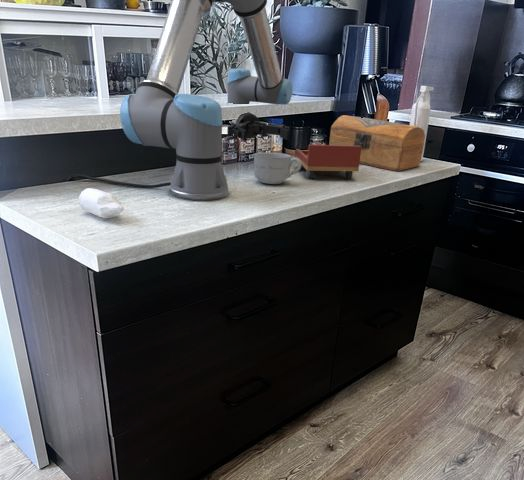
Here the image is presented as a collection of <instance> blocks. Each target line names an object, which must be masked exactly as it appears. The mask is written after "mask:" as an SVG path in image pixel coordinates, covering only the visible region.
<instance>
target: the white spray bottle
mask: <svg viewBox="0 0 524 480" xmlns="http://www.w3.org/2000/svg"><path fill="white" fill-rule="evenodd" d="M434 90H435V87H434V86H428V85H420V88H419V92H420V94H419V96H418V97H417V99H416V101H415V103H413V104H412V106H411V111H410V118H409V125H411V126H416V127H420V128H421V129H423V130H424V133H425V140H424V146H423V151H422V156H421V161H420V162H423V160H424V153H425V148H426V141H427V134H428V130H429V129H428V128H429V122H430V117H431V109H432V108H431V105H430V104H431V94H430V92H433V91H434Z"/></svg>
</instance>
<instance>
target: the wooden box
mask: <svg viewBox="0 0 524 480" xmlns="http://www.w3.org/2000/svg"><path fill="white" fill-rule="evenodd" d="M361 117H362V116H352V115H347V114H343V115H340V116H339V117H338V118H336V119H335V121H334V122H333V124H332V125H331V126H330V130H329V131H330V133H329V142H328V145H344V146H362V148H361V155H360V162H359V165H360V164H361V165H366V166H370V167H373V168H375V167H376V168H380V169H384V170H389V171H393V172H394V171H395V172H401V171H406V170H409V169H413V168H417V167H420V166H421V165H420V164H421V162H422V161H421V156H422V151H423V146H424V140H425V133H424V130H423V129H421V128H420V127H416V126H411V125H410V124H404V123H399V122H393V121H388V120H383V119H382V120H381V119H375V118H370V117H363V118H361Z"/></svg>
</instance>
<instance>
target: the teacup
mask: <svg viewBox="0 0 524 480" xmlns="http://www.w3.org/2000/svg"><path fill="white" fill-rule="evenodd" d="M293 162H296V163H297V167H296V168H295V169H294V170H292V171H290V170H291V167H292V164H293ZM300 168H301V161H300V160H299V159H298V158H295V157H292V156H291V155H290V154H287V153H281V152H255V153H253V174H254V176H255V178H256V179H257V180H258V181H259V182H260V183H263V184H269V185H279V184H283V183H284V182H285V181H286V180H287V179H290V178H291V177H292V176H293V175H296V174H297V173H298V172H299V171H301V170H300Z"/></svg>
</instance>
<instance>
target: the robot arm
mask: <svg viewBox="0 0 524 480" xmlns="http://www.w3.org/2000/svg"><path fill="white" fill-rule="evenodd" d="M214 3H226V4H227V3H228V4H229V5H231V6H232V7H231V8H232V10H233V12H234V14H235V15H236V16H237V17H239V20H240V24H241V26H242V30H243V33H244V36H245V41H246V43H247V47H248V51H249V53H250V56H251V60H252V62H253V67H254V69H255V73H256V76H255V75H252V74H251V70H250V69H248V68H247V69H246V68H230V69H229V70H228V73H227V83H226V85H227V104H228V103H233V104H249V103H250V102H251V103H253V102H254V103H261V104H270V105H277V106H278V105H288V104H289V103H290V102H291V100H292V97H293V83H292V81H291V80H290V79H289V78H288V79H287V78H284V77H283V76H282V72H281V67H280V63H279V58H278V55H277V51H276V50H277V49H276V46H275V43H274V38H273V34H272V33H273V32H272V30H271V25H270V21H269V18H268V17H269V16H268V13H267V9H266V6H267V4H268V0H170V4H169V7H168V10H167V14H166V17H165V20H164V23H163V27H162V29H161V33H160V36H159V39H158V42H157V46H156V48H155V51H154V55H153V58H152V61H151V65H150V67H149V71H148V74H147V76H146V79H145V80H144V79H143V80H142V81H140V82H138V84H137V87H136V89H135V90H136V91H135V93H134V94H130V93H129V94H127V95H126V96H124V97H123V99H122V101H121V104H120V108H119V119H120V123H121V127H122V130H123V133H124V134H125V136H126V137H127V139H128V140H129V141H130V142H131V143H134V144H137V145H142V146H144V147H156V148H157V147H158V148H164V149H172V150H173V149H174V150H175V156H176V157H175V158H176V159H175V160H176V161H175V162H176V163H175V167H174V171H173V174H172V177H171V181H169V182H162V183H157V184H139V183H131V182H125V181H117V180H113V179H107V178H102V177H93V176H89V175H85V174H84V175H83V174H79V175H78V176H77V177H70V176H69V177H68V178H67V179H66V181H67V182H70V181H72V180H73V179H76V178H79V179H86V180H90V181H95V182H103V183H107V184H113V185H118V186H125V187H132V188H140V189H141V188H143V189H155V188H156V189H157V188H161V187H168V186H170V187H169V189H170V194H171V195H172V196H174V197H176V198H179V199H184V200H188V201H189V200H190V201H214V200H219V199H223V198H225V197H227V196H228V195H229V186H228V179H227V176H226V174H225V172H224V171H225V170H224V167H223V164H222V150H223V149H222V146H223V124H224V123H223V122H224V121H223V113H222V106H221V104H220V103H219V102H218V101H216V100H215V99H212V98H210V97H207V96H203V95H199V94H198V95H197V94H190V93H179V92H180V89H181V86H182V84H183V79H184V78H185V77H184V76H185V73H186V70H187V67H188V64H189V60H190V58H191V54H192V51H193V48H194V45H195V41H196V38H197V36H198V35H197V34H198V33H199V28H200V25H201V23H202V19H203V18H206V17H208V16H209V14H210V12H211V10H212V7H213V4H214ZM251 103H250V104H251ZM229 123H230V124H231V125H230V126H227V134H226V135H227V137H232V136H233V140H238V138H239V139H241V141H244V142H247V139H253V138H255V137H256V136H258V135H263V136H265V135H273V136H279V137H280V138H281V139H282V140H286V141H290V136H291V135H290V134H291V130H290V126H286V124H282V125H280V124H276V123H272V122H267V123H266V122H261V121H260V119H259V117H258V116H256V114H253V113H252V112H250V111H249V112H246V113H243V114H241V115H240V116H239V117H238V119H235V120H232V121H229Z"/></svg>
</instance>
